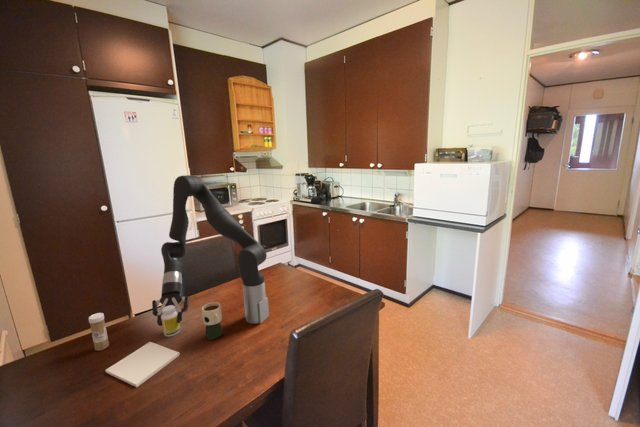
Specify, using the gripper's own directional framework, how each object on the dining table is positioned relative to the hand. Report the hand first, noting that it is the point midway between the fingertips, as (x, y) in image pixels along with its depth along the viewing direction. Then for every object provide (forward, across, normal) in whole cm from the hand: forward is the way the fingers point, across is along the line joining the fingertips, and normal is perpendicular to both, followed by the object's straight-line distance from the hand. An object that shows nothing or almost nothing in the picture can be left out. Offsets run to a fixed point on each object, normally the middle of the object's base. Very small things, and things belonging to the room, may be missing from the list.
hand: (169, 323), depth 115 cm
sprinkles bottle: (+4, -24, +3) cm, 24 cm away
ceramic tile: (+14, -6, -7) cm, 17 cm away
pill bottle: (+2, 0, +5) cm, 5 cm away
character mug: (+8, +17, -1) cm, 19 cm away
